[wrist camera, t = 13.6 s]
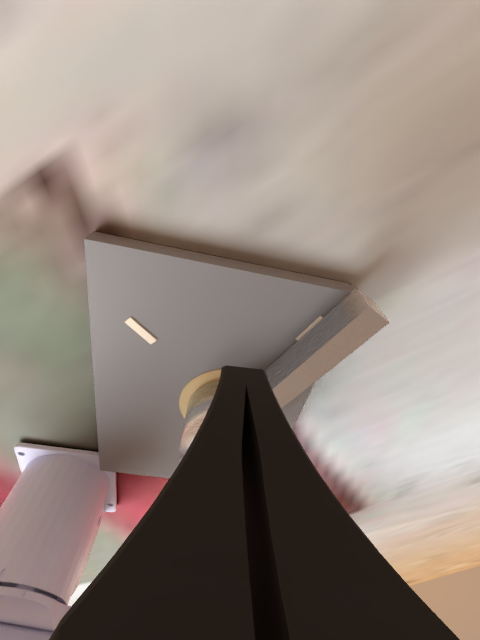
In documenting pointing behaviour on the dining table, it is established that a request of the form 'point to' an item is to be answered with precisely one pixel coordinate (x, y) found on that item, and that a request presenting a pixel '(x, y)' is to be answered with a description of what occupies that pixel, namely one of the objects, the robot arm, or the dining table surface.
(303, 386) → the tan piece
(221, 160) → the dining table surface
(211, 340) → the board
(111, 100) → the dining table surface
